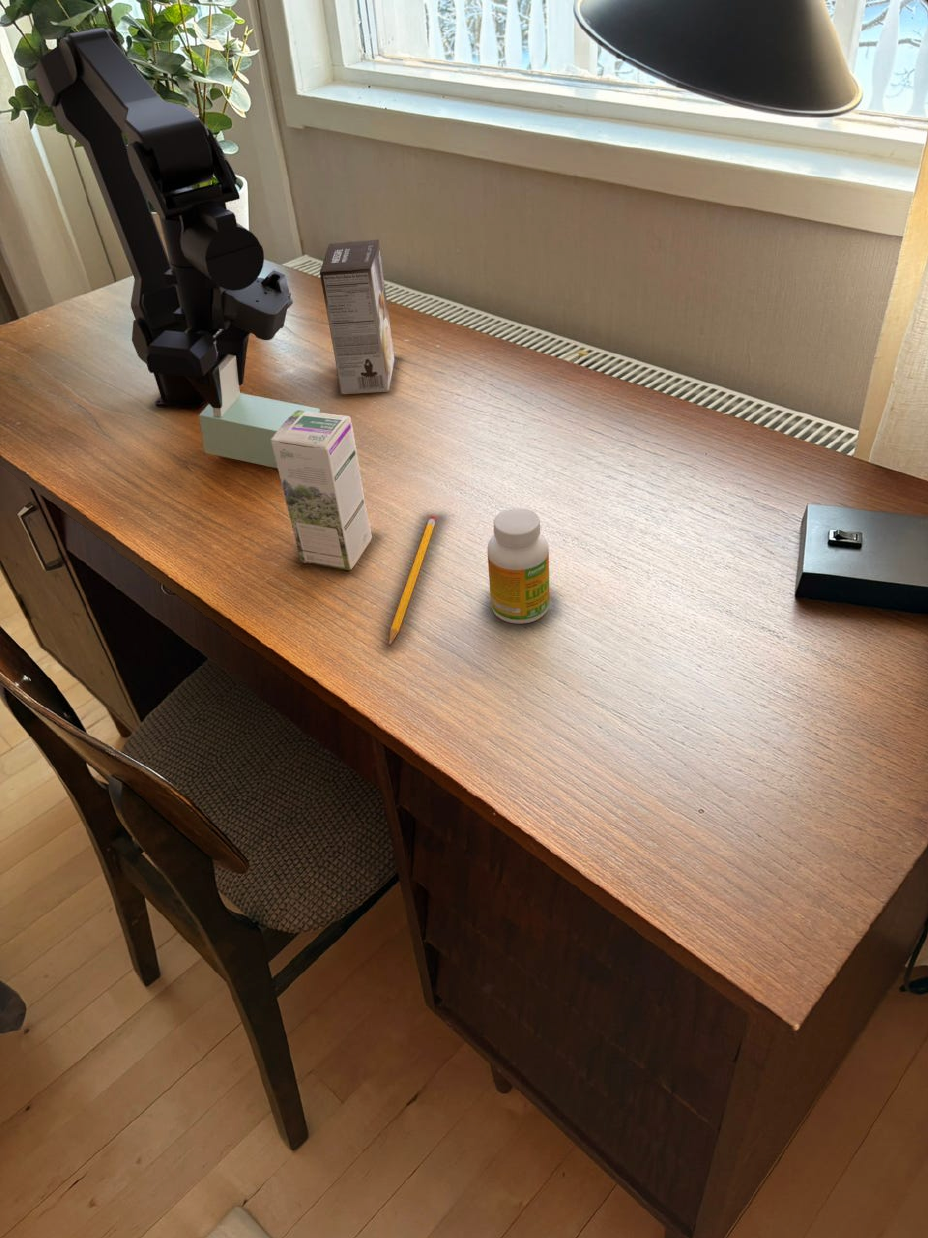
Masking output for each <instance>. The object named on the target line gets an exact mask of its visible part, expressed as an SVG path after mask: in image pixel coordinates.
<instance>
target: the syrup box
mask: <svg viewBox="0 0 928 1238" xmlns="http://www.w3.org/2000/svg"><path fill="white" fill-rule="evenodd" d="M353 428H354V427H353V424H352V418H351V417H350V415H341V414H335V413H334V414H333V413H326V412H320V413H317V412H308V411H300V410H297V411H296V412H294V413H293V414H292V415H291V416H290V417H289V418H288V419H287V420H286V421H285V422H284V423H283V424H282V426H281V427H280V428H279V430H278V431H277V432H276V434H275V435H274V436H273V438H272V439H271V442H272V447H273V451H274V455H275V459H276V463H277V467H278V468H277V470H278V471H277V472H278V474H279V478H280V483H281V486H282V490H283V496H284V499H285V503H286V507H287V511H288V516H289V520H290V523H291V528H292V531H293V535H294V539H295V543H296V544H295V545H296V547H297V552H298V556H299V560H300V562H301V563H304V564H309V565H315V566H322V567H327V568H334V569H339V570H346V571H351V570H352V569H353V568H354V566H355V565H356V564H357V563H358V561H359V560H360V558H361V556H362V555H363V553H364V552H365V550H366V549H367V547H368V546H369V544H370V542H371V541H372V539H373V536H372V535H373V534H372V530H371V524H370V521H369V515H368V510H367V505H366V500H365V499H366V498H365V493H364V488H363V482H362V477H361V469H360V463H359V457H358V450H357V446H356V445H357V444H356V441H355V434H354V429H353Z"/></svg>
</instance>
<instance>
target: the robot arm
mask: <svg viewBox="0 0 928 1238" xmlns="http://www.w3.org/2000/svg"><path fill="white" fill-rule="evenodd" d="M34 72H35V81H36V84H37V88H38V90H39V93H40V95H41V97H42V99H43V101H44V103H45V105H46V106H47V107H48V108H51V110H52V112H53V114H54V116H55V119H56V121H57V123H58V125H59V126H60V127H61V128H62V129H63V130H64V131H65V132H66V133H67V134H69V135H70V136H71V137H72V138H73V140H75V141H76V142H77V143H78V144H79V145H81V146H82V147H83V150H84V152H85V155H86V157H87V159H88V160H87V161H88V162H89V165H90V168H91V170H92V173H93V175H94V178H95V181H96V183H97V185H98V188H99V191H100V193H101V196H102V199H103V202H104V204H105V207H106V209H107V211H108V214H109V216H110V217H109V218H110V220H111V222H112V224H113V227H114V230H115V232H116V235H117V237H118V240H119V242H120V245H121V247H122V250H123V252H124V255H125V258H126V261H127V263H128V265H129V268H130V271H131V273H132V276H133V279H134V282H133V287H132V292H131V293H132V294H131V300H130V308H131V311H132V314H133V317H134V319H133V320H132V330H131V331H132V333H131V342H132V344H133V348H134V349H135V353H136V355H137V357H138V358H139V359H140V360H142V362H143V363H144V364H145V365H146V368H147V371H149V373H150V374H153V377H154V379H155V383H156V385H157V389H158V392H159V395H160V396H159V397H158V398H157V399H156V400H155V401H154V404H155V406H156V407H157V408H171V409H172V408H173V409H185V410H186V409H187V410H200V409H202V408H203V407H204V406H205V405H206V404H210V405H211V407H213V408H218V409H220V408H221V407H222V391H221V382H220V373H219V366H220V364H221V363H222V362H223V361H224V360H225V359H226V357H227V356H228V354H230V355H235V356H236V362H237V371H238V380H239V386H242V385H244V379H245V371H246V362H247V361H246V360H247V353H248V352H247V351H248V345H249V339H250V335H251V334H252V335H254V336H255V337H256V339H259V340H260V341H261V340H262V341H271V340H272V339H274V338H275V335H276V334H277V333H278V332H279V331H280V330H281V329H283V328H284V326H285V323H286V319H287V318H286V317H287V313H288V309H290V308H291V306H292V305H293V303H294V301H293V299H292V298H291V295H292V292H290V288H289V284H288V281H287V275H285V274H284V273H282V272H279V271H278V270H277V271H276V270H275V269H273V270H271V272H269V273H268V274H267V275H266V276H265V277H260V275H261V273H262V270H263V269H264V263H265V262H264V261H265V255H264V254H265V253H264V252H265V251H264V248H263V246H262V244H261V243H260V241H259V239H258V238H257V237H256V235H255V234H254V233H253V232H252V231H251V230H249V229H248V228H246V227H244V226H243V225H241V224H240V223H238V221H237V218H236V215H235V213H234V212H233V211H232V210H230V209H228V208H227V203H230V202H234V201H238V200H240V197H241V196H240V193H239V190H238V189H237V185H236V184H237V180H238V179H237V175H236V174H235V172H234V170H233V167H232V166H231V164H230V162H229V160H228V158H227V156H226V154H225V152H224V150H223V149H222V147H221V145H220V143H219V141H218V139H217V138H216V137H215V136H214V134H213V132H212V130H211V129H210V128H209V127H208V126H207V125H205V124H204V122H203V121H202V120H201V119H200V118H199V117H198V116H197V115H196V114H195V113H193V112H192V111H191V110H190V109H188V108H187V107H186V106H184V105H183V104H178V103H175V102H170V101H166V100H164V99H163V98H161V96H160V95H159V94H158V93H157V92H156V91H155V88H153V87H152V86H151V84H150V83H149V82H148V80H147V79H146V78H145V77H144V76H143V75H142V73H141V72H140V71H139V70H138V68H137V67H136V66H135V65H134V64H133V62H132V61H131V60H130V58H128V57H127V55H126V54H125V53H124V51H123V50H122V49H121V47H120V43H119V41H118V39H117V36H116V34H115V33H114V31H113V30H112V29H110V28H108V29H107V28H106V29H105V28H104V27H97V28H91V29H86V30H81V31H80V30H79V31H75V32H69V33H67V34H66V35H65V36H64V37H61V38H60V41H59V43H58V45H56V46H55V47H54V48H53V49H51V50H50V51H48V52H47V53H46V54H44V55H43V56H41V57H40V58H39V59H38V61H37V65H36V69H35V71H34ZM124 135H125V137H126V139H125V137H124ZM126 140H127V141H126ZM126 142H127V143H126ZM214 178H215V179H216V181H217V182H215V183H214V182H213V183H210V184H208V185H203V186H199V187H196V188H192V187H193V186H197V185H200V184H205V183H208V182H211V181H213V179H214ZM149 202H150V204H151V206H152V208H153V210H154V212H155V213H156V214H157V216H158V218H159V222H160V227H161V231H162V235H163V240H164V243H165V245H164V243H163V240H162V237H161V234H160V231H159V229H158V226H157V224H156V221H155V218H154V215H153V213H152V210H151V208H150V205H149ZM165 247H166V248H165Z"/></svg>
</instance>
